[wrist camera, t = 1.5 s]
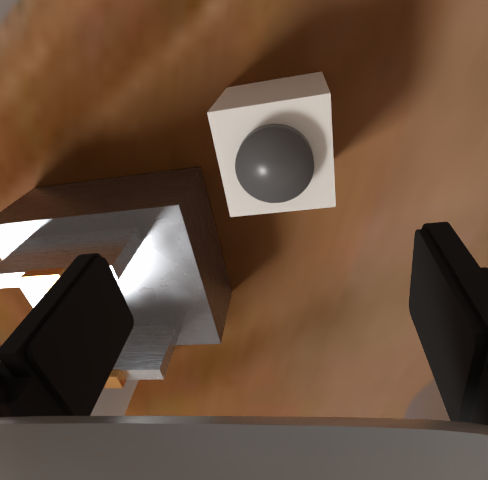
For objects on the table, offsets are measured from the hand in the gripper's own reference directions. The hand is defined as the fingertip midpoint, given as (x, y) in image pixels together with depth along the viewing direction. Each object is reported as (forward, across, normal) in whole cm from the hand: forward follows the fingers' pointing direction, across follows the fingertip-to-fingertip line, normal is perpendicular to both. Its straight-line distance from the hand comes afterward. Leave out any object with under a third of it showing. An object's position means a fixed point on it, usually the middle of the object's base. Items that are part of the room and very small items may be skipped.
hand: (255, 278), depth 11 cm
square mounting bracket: (+16, +13, +8) cm, 22 cm away
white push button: (+16, 0, 0) cm, 16 cm away
